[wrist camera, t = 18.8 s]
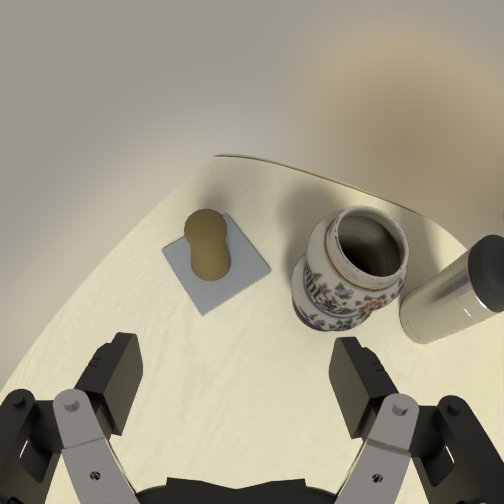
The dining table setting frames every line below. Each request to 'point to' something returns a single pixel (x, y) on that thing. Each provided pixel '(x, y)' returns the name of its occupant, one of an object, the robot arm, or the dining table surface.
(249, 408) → the dining table surface
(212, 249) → the brown pawn
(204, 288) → the slate tile
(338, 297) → the apothecary jar
